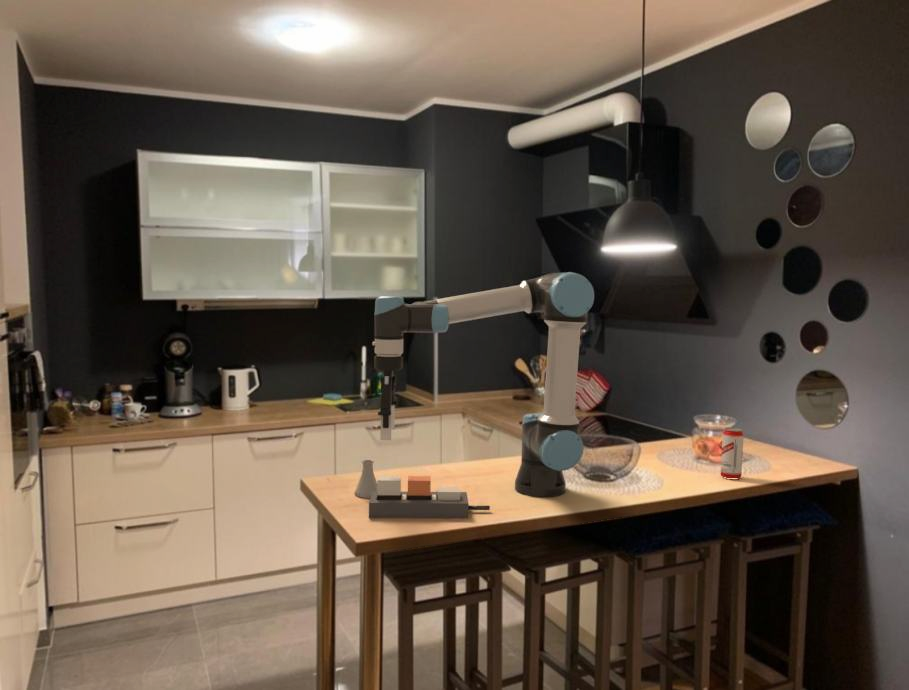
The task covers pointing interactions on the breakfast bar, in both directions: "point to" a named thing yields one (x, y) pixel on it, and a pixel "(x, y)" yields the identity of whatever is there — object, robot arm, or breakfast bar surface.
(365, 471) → the flask
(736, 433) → the beer can
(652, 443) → the breakfast bar surface
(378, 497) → the power strip
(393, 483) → the switch
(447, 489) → the switch
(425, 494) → the switch
